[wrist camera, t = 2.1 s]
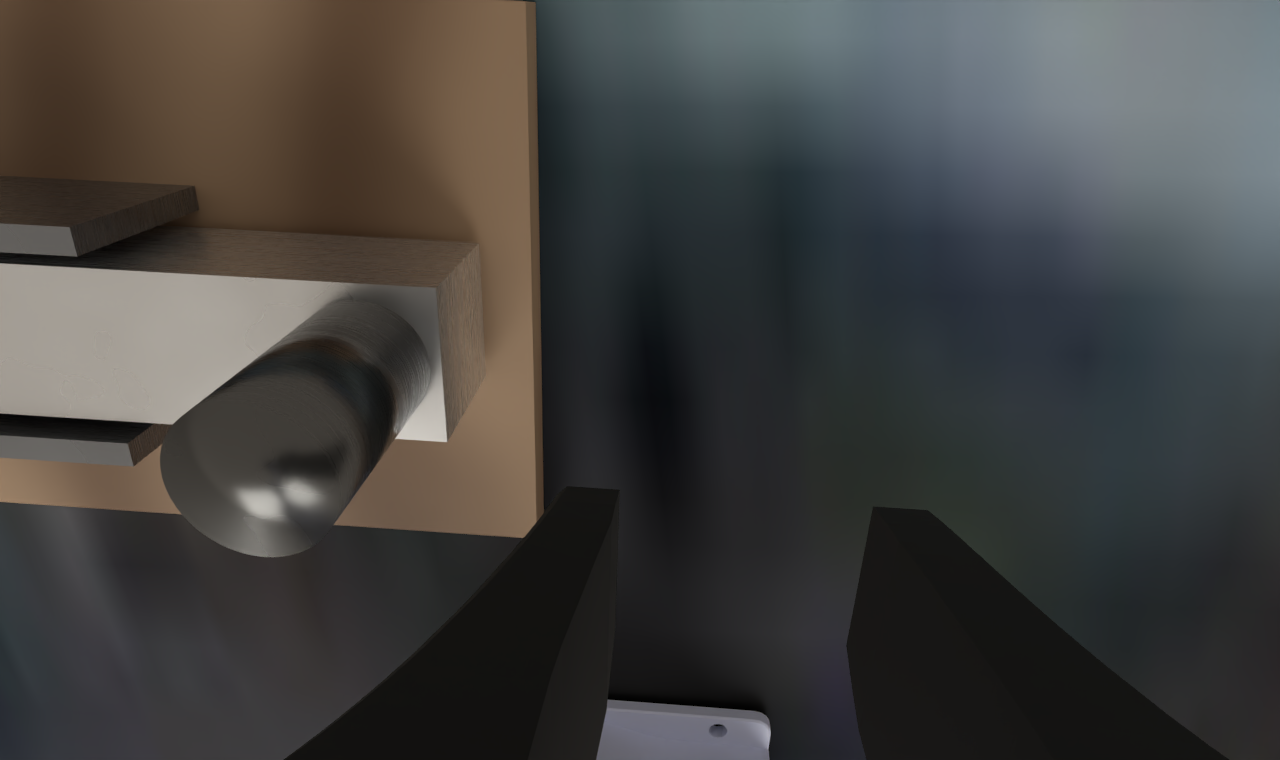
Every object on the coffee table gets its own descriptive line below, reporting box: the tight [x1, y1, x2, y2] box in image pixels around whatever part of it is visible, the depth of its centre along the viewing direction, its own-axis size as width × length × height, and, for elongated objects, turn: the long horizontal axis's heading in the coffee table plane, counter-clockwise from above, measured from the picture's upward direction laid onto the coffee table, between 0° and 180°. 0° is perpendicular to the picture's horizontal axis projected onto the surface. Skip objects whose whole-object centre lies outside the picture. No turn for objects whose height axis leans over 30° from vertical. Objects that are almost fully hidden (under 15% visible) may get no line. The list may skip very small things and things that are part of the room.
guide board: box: [0, 0, 544, 538], centre depth 18 cm, size 20×12×1 cm, turn 88°
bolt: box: [0, 225, 486, 557], centre depth 14 cm, size 12×3×7 cm, turn 88°
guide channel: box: [0, 176, 199, 467], centre depth 16 cm, size 6×5×4 cm
